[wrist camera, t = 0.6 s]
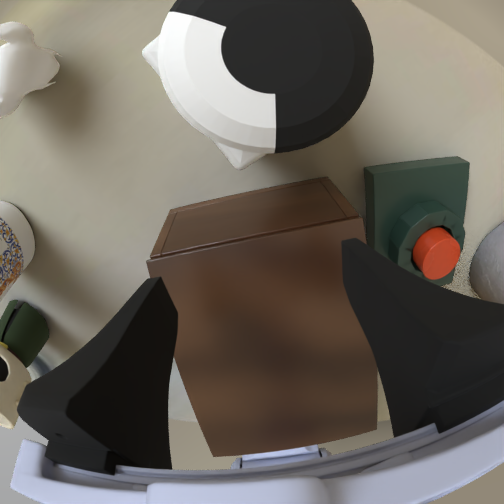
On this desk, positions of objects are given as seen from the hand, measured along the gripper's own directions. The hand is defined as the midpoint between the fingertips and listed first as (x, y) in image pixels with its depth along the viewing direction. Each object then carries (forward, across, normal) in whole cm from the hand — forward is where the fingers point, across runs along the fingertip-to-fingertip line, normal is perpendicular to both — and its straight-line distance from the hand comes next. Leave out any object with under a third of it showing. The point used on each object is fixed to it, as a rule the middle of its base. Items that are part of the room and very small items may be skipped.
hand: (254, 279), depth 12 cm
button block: (+10, -13, +6) cm, 18 cm away
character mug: (+11, +27, +8) cm, 30 cm away
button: (+7, -13, +6) cm, 16 cm away
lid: (+1, 0, +7) cm, 7 cm away
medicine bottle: (+11, -2, -8) cm, 13 cm away
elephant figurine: (+11, +13, -14) cm, 22 cm away
